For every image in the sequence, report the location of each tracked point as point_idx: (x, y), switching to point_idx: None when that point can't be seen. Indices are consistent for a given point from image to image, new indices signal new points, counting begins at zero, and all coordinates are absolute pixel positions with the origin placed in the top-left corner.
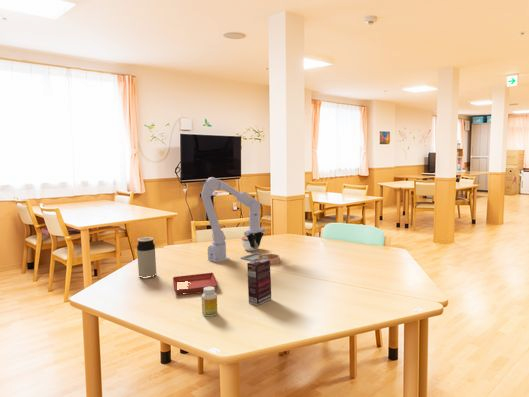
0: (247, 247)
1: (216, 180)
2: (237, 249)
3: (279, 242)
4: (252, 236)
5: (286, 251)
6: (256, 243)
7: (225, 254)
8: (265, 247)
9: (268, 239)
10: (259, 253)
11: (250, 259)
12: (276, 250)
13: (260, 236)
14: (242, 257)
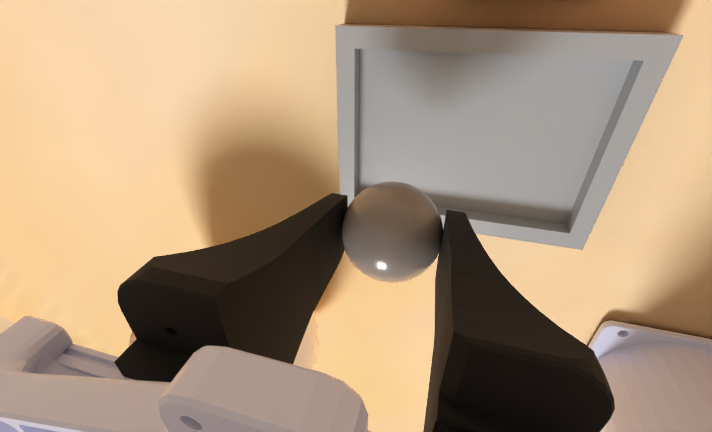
0: (314, 323)
1: None
2: (319, 366)
3: (21, 233)
4: (610, 388)
5: (58, 16)
6: (386, 230)
7: (676, 384)
8: (153, 249)
9: (58, 312)
10: (339, 167)
11: (651, 94)
12: (124, 129)
13: (264, 264)
14: (579, 231)
